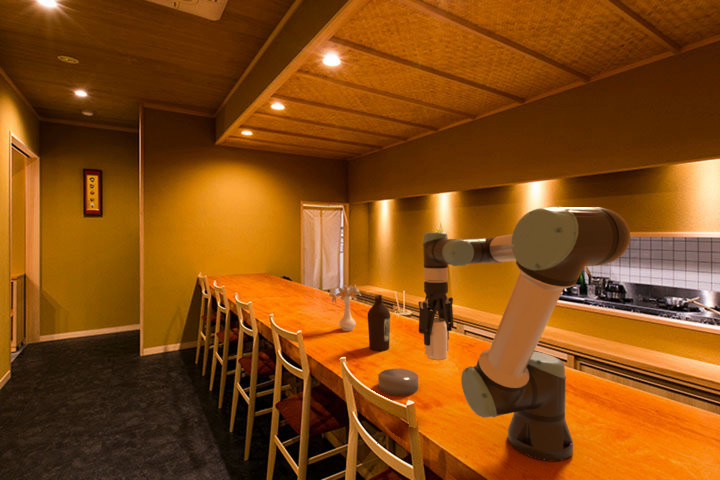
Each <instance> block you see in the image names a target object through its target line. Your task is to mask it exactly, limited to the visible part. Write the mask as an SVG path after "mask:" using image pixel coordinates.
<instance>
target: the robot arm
mask: <svg viewBox="0 0 720 480" xmlns="http://www.w3.org/2000/svg"><path fill="white" fill-rule="evenodd" d="M630 242H631V231H630V227H629V225H628V223H627V222H626V220H625V219H624V218H623V217H622V216H621V215H620V214H618V213H617V212H615V211H613V210H611V209H608V208H605V207H599V206H597V207H596V206H592V207H591V206H590V207H577V206H576V207H572V206H571V207H567V206H566V207H562V206H547V207H539V208H536V209H533V210H531V211H529V212H526V213H525V214H524V215H523V216H522V217H521V218H520V219H519V220H518V221H517V223H516V225H515V226H514V229H513V231H512V233H511V234H505V235H499V236H492V237H481V238H480V237H479V238H448V234H447V232H444V231H442V232H425V233H424V234H423V243H422V247H423V251H422V253H423V280H425V281H424V282H423V292H424V293H425V298H424V300H423V301H418V307H419V311H418V312H419V315H418V316H419V318H418V333H419V334H421V335H422V334H423V343H424V353H425V355H426V356H427V355H429V356H433V335H431V331H432V327H433V322H434V318H436V314H437V315H438V318H442V319H445V323H446V325H447V352H449V339H450V333H449V332H451V331H452V330H453V328H454V313H453V312H454V311H453V302H454V299H453V297H450V296H447V294H448V293H449V283H448V280H449V266H448V265H451V266H453V267H458V266H459V267H462V266H463V267H464V266H467V265H474V264H475V265H476V264H492V263H493V264H497V263H498V264H500V263H503V262H504V263H505V262H515V265H516V267H517V269H518V270H519V273H518V277H517V279H516V282H515V283H514V287H513V289H512V292H511V294H510V296H509V299H508V301H507V304H506V307H505V310H504V311H503V314H502V316H501V320H500V323H499V325H498V327H497V330H496V333H495V334H494V338H493V340H492V342H491V345H490V347H489V348H488V349H485V350H483V351H482V352H481V353H480V355H479V357H478V360H477V362H476V364H475V365H474V366H472V365H470V366H467V367H465V368H464V369H463V371H462V372H461V378H460V381H461V383H460V384H461V388H462V391H463V392H462V393H463V396H464V398H465V400H466V402H467V404H468V406H469V407H470V410H471V411H472V412H473V413H474V414H476V416H478V417H481V418H485V419H486V418H497V417H498V416H503V415H508V414H512V417H511V420H510V422H509V425H508V428H507V440H508V442H509V444H510V445H511V446H512V447H513V448H514V449H515V448H516V450H517V451H519V452H520V453H521V452H522V454H523V453H524V455H525V454H527V455H529V456H528V457H530V456H532V457H531V458H533V457H536V458H540V459H545V460H544V461H546V460H561V459H565V458H567V459H569V458H570V457H569V456H572V455H573V454H572V453H574V441H573V438H572V436H571V435H572V434H571V432H570V429H569V426H568V423H567V420H566V379H567V376H566V371H565V370H566V368H565V365H564V363H563V361H562V360H561V359H559V358H557V357H555V356H553V355H550V354H547V353H543V352H539V351H535V350H536V348H537V346H538V344H539V342H540V339H541V337H542V335H543V333H544V330H545V329H546V328H547V325H548V323H549V321H550V318H551V316H552V314H553V312H554V310H555V308H556V305H557V303H558V301H559V299H560V296H561V295H562V293H563V291H564V289H569V288H571V287H573V286H575V285H576V284H577V282H578V279H579V277H580V276H581V274H582V271H583V269H584V268H585V267H593V266H594V267H595V266H602V265H607V264H610V263H612V262H615V261H616V260H619V258H620V257H621V256H623V255H624V253H625V252H626V251H627V250H628V247H629V245H630ZM427 330H428V331H427ZM527 455H526V456H527ZM568 457H569V458H568ZM536 458H535V459H536ZM540 459H539V460H540ZM565 460H566V459H565ZM561 461H562V460H561Z"/></svg>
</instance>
